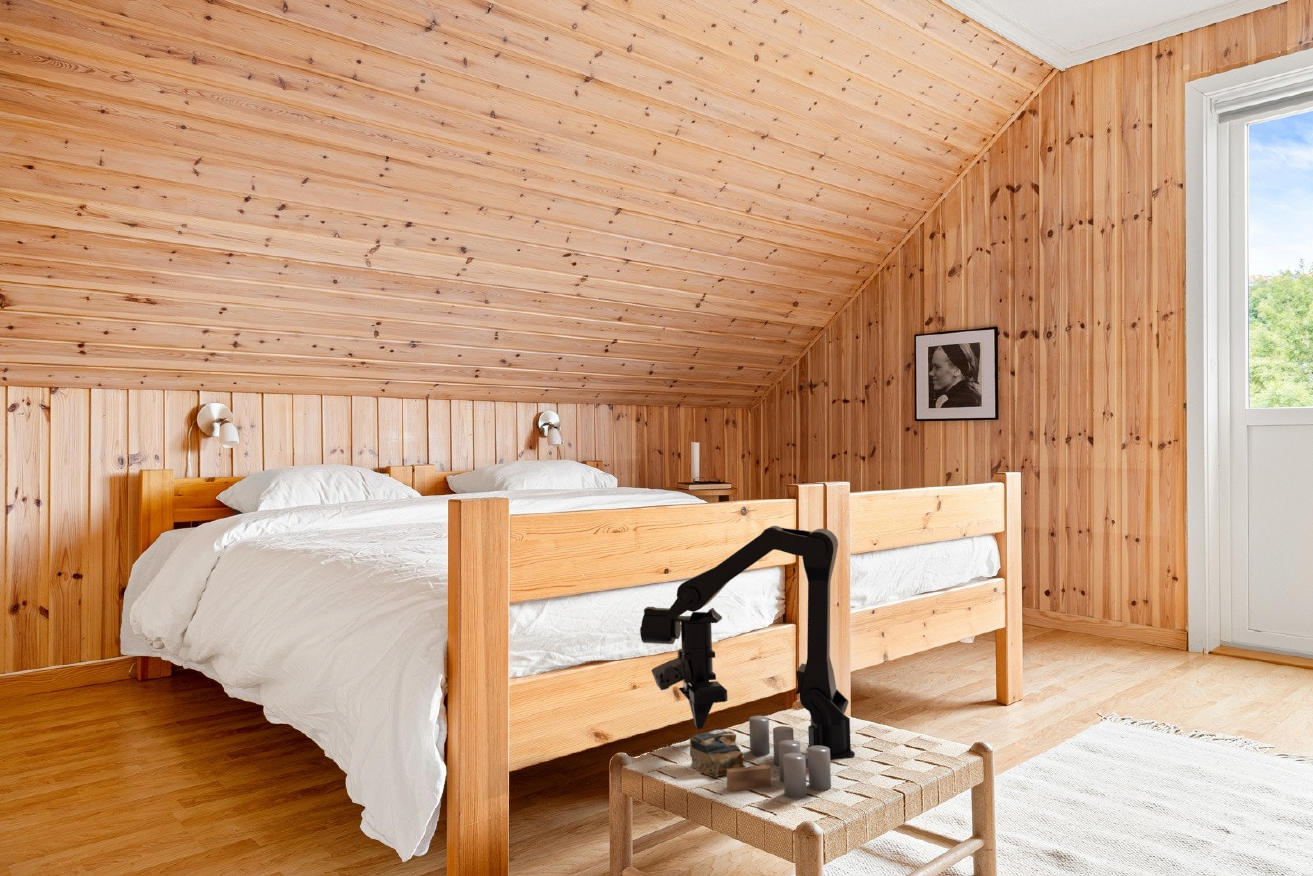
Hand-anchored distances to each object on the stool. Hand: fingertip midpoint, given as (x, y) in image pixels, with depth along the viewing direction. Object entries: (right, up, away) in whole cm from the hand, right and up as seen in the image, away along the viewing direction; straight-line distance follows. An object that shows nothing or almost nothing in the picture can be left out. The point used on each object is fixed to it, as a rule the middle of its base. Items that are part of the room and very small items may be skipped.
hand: (699, 728), depth 168 cm
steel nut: (+20, -2, -13) cm, 24 cm away
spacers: (+14, -2, -16) cm, 21 cm away
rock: (+3, -3, -13) cm, 14 cm away
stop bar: (+7, -2, -22) cm, 24 cm away
